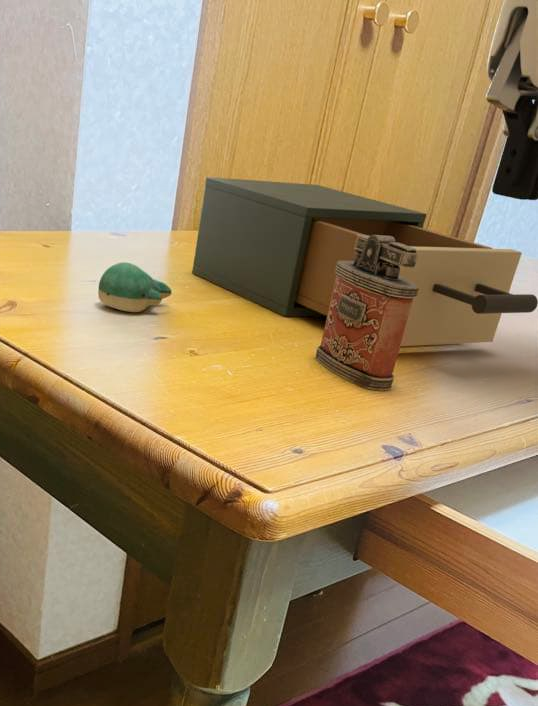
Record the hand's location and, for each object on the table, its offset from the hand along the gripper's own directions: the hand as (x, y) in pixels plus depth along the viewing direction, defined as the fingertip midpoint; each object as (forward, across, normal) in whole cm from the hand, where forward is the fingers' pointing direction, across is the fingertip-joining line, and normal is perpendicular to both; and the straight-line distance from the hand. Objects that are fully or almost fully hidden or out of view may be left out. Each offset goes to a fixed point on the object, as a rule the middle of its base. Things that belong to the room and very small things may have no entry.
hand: (514, 196), depth 64 cm
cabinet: (+13, 0, +23) cm, 27 cm away
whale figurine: (+13, -21, +19) cm, 31 cm away
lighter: (+13, -12, 0) cm, 18 cm away
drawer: (+12, 0, +8) cm, 14 cm away
